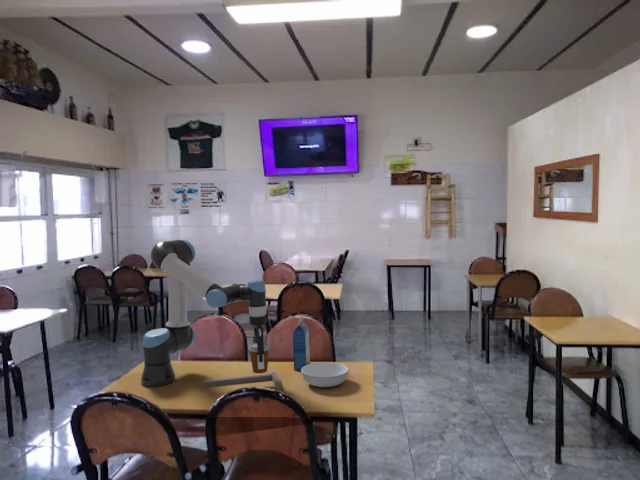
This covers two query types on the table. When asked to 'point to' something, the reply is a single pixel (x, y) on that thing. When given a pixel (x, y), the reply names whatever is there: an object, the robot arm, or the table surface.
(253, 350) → the disposable coffee cup
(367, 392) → the table surface
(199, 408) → the table surface
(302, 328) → the blue food package
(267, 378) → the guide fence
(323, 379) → the serving bowl
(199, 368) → the table surface
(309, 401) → the table surface
